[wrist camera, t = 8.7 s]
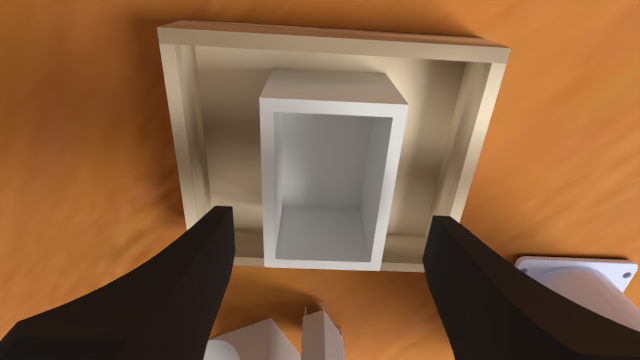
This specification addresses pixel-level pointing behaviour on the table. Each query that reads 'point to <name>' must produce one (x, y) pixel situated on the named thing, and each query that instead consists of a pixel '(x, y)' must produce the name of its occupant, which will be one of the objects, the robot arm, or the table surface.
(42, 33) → the table surface
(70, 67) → the table surface
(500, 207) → the table surface
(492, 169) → the table surface
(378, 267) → the small crate
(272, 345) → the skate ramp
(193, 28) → the shallow wooden tray
